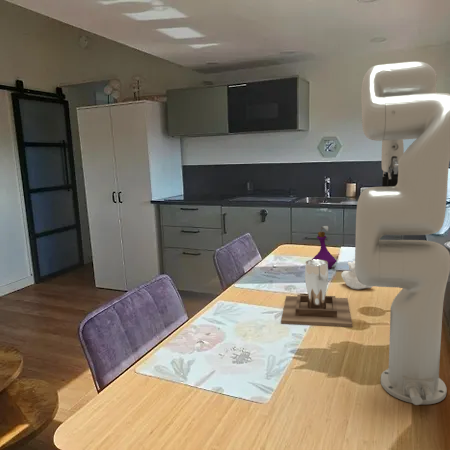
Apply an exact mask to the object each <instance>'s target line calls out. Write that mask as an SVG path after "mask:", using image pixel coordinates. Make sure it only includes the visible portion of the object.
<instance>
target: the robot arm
mask: <svg viewBox="0 0 450 450" xmlns="http://www.w3.org/2000/svg"><path fill="white" fill-rule="evenodd" d="M437 80H438V78H437V72H436V70H435V69H434V67H432V66H431V65H430V64H429V63H427V62H423V61H417V60H414V61H413V60H412V61H402V62H401V61H400V62H392V63H383V64H376V65H374V66H373V65H372V66H371V67H370V68H368V69H367V71H366V73H365V74H364V75H363V79H362V83H361V91H360V98H361V124H362V131H363V134H364V135H365V136H366V138H367V139H369V140H371V141H376V142H377V141H379V142H380V141H381V170H382V171H383V172H382V182H381V184H382V186H372V187H368V188H366V189H364V190H363V191H362V192H361V193H360V195H359V197H358V199H357V204H356V212H355V213H356V215H355V240H354V241H355V243H354V244H355V249H354V261H355V272H356V277H357V279H358V281H359V282H360V283H362V284H363V285H366V286H373V287H379V288H400V289H401V290H400V291H399V292H398V293H397V294H396V296H395V297H394V299H393V301H392V302H391V305H390V313H389V314H390V315H389V316H390V317H389V319H390V321H389V348H388V349H389V352H388V368H387V369H385V370H384V371H383V372H381V374H380V384H381V387H382V388H383V390H385V391H386V393H388V394H389V395H390V396H393V398H395V399H398V400H400V401H403V402H407V403H410V404H413V405H414V406H419V405H432V404H436V403H440V402H441V401H443V400H444V399H445V398H446V397H447V385H446V384H445V382H444V381H443V380H442V379H441V378H440V363H441V362H440V361H441V360H440V359H441V346H442V345H441V341H442V325H443V323H442V321H443V309H444V299H445V294H446V288H447V283H448V280H449V276H450V252H449V250H448V249H447V248H446V247H445V246H444V245H442V244H441V243H439V242H436V241H433V240H432V241H431V240H425V239H420V240H419V239H381V238H382V237H384V236H426V235H432V234H435V233H437V232H440V230H442V228H443V226H444V222H445V218H446V210H447V209H446V208H447V197H448V196H447V195H448V183H449V168H450V167H449V166H450V93H445V92H437V90H438V89H437ZM404 140H414V141H413V142H412V143H411V144H410V145H409V146H408V147H407V149H406V150H405V149H404ZM404 150H405V151H404Z"/></svg>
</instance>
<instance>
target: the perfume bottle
mask: <svg viewBox="0 0 450 450" xmlns="http://www.w3.org/2000/svg"><path fill="white" fill-rule="evenodd" d="M323 230H325V231H326V232H329V226H328V225H324V226H320V231H319V232H317V236H316V239H317V240H318V241H319V244H320V249H319V252H317V254H316V255H314V257H313V258H312V259H311V260H313V259H319V260H325V261H327V262H328V263H327V264H328V270H329V269H331V268H332V267H333V266H334V265H335V264H336V263H337V259H336V258H335V257H334V256H333V255H332V254H331V253H330V251H329V250H328V248H327V245H326V241H325V240H326V239H327V236H326V232H325V231H323Z"/></svg>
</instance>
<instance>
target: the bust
mask: <svg viewBox="0 0 450 450" xmlns="http://www.w3.org/2000/svg"><path fill="white" fill-rule="evenodd" d="M347 265H348V270H343V272H341V273H340V274H341V279H342V280H343V281H344V283H345V285H346V286H347V287H349V288H350V289H353V290H363V289H372V288H373V287H374V286H366V285H363V284H362V283H360V282H359V281H358V279H357V277H356V272H355V260H353V261H347Z"/></svg>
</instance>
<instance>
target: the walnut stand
mask: <svg viewBox="0 0 450 450" xmlns="http://www.w3.org/2000/svg"><path fill="white" fill-rule="evenodd" d="M325 300H326V306H327V309H310V308H307V303H308V294H306V295H305V294H296V295H286V296H285V300H284V305H283V310H282V313H281V314H282V315H281V320H280V324H285V325H303V326H304V325H305V326H325V327H340V328H341V327H342V328H343V327H344V328H353V320H352V316H351V314H352V313H351V309H350V305H349V299H348V297H336V295H326V297H325Z"/></svg>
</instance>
